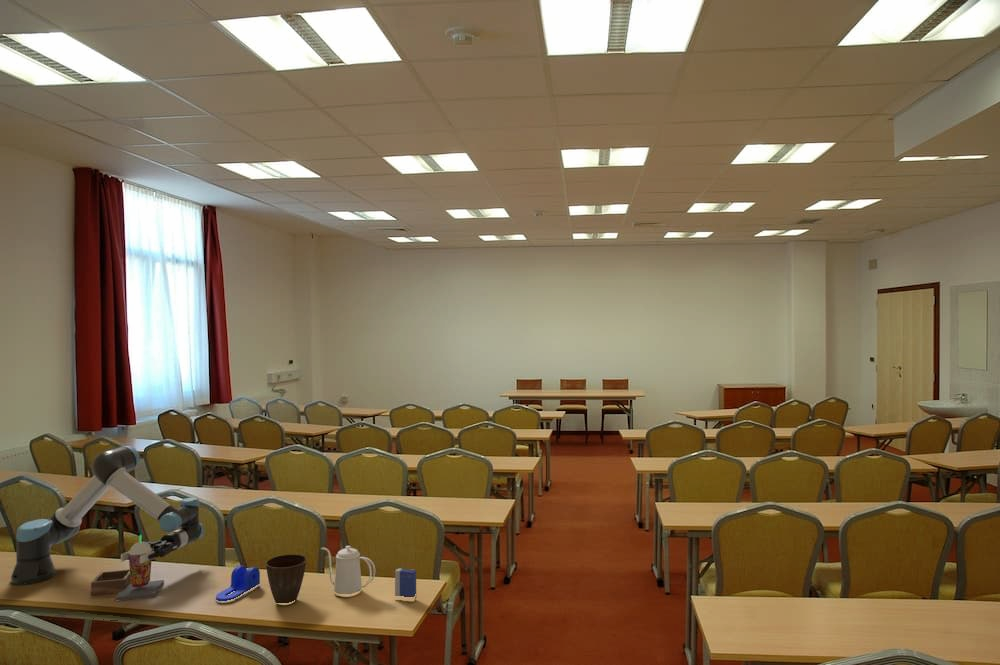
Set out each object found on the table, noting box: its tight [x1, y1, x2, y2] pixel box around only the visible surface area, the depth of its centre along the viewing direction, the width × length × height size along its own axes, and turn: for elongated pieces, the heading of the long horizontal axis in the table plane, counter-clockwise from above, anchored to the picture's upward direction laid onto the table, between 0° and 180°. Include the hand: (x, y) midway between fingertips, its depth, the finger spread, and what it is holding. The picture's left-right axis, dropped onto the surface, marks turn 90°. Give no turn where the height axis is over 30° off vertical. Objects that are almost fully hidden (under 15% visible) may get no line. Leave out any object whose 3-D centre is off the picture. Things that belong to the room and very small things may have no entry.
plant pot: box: [265, 553, 307, 604], centre depth 238 cm, size 15×15×16 cm
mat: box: [114, 579, 165, 602], centre depth 247 cm, size 14×14×2 cm
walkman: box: [394, 567, 417, 597], centre depth 239 cm, size 8×3×12 cm, turn 74°
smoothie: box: [127, 534, 153, 587], centre depth 248 cm, size 8×8×20 cm
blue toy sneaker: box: [215, 565, 261, 601], centre depth 245 cm, size 18×8×9 cm, turn 164°
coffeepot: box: [320, 545, 376, 594], centre depth 247 cm, size 11×25×19 cm, turn 73°
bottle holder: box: [90, 568, 131, 596], centre depth 252 cm, size 12×12×5 cm
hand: (131, 559), depth 243 cm, fingers closed on smoothie, 8 cm apart
